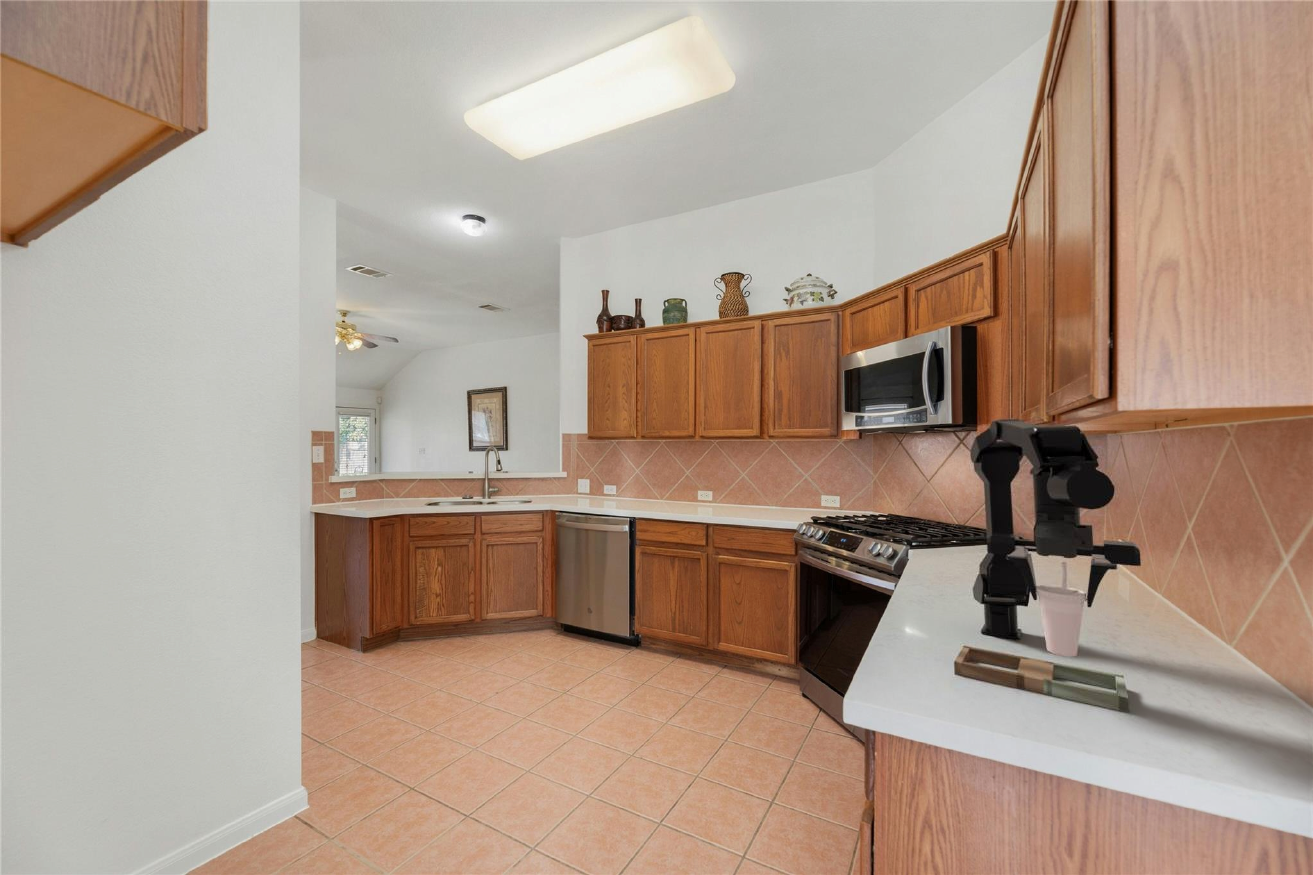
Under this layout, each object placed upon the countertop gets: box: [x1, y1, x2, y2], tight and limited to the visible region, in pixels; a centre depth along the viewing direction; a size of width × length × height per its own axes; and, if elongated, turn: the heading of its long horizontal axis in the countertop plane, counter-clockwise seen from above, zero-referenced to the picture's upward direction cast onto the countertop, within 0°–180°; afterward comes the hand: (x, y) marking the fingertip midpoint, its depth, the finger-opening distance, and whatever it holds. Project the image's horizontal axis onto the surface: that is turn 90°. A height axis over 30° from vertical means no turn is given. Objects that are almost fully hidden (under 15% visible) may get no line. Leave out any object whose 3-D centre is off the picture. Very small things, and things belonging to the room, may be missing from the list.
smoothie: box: [1036, 562, 1087, 657], centre depth 81 cm, size 6×6×14 cm
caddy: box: [953, 645, 1130, 713], centre depth 83 cm, size 10×22×2 cm, turn 51°
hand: (1061, 603), depth 81 cm, fingers closed on smoothie, 6 cm apart
